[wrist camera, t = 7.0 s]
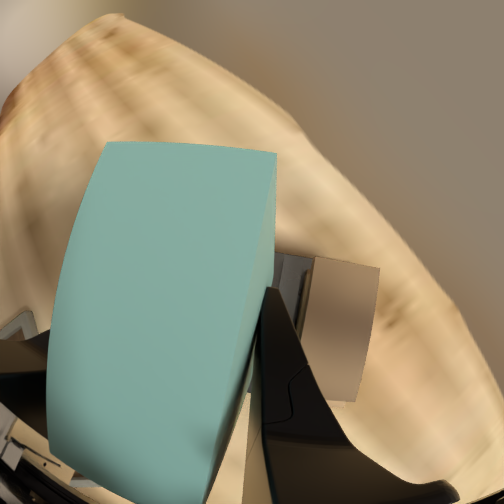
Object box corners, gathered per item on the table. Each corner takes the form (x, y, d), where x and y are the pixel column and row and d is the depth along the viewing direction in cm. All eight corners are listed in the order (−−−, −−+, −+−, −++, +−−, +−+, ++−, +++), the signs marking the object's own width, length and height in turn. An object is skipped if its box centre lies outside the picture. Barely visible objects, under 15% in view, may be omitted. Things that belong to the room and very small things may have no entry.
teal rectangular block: (251, 378, 14) (195, 524, 2) (200, 365, 14) (49, 452, 3) (273, 275, 15) (276, 153, 4) (222, 265, 16) (106, 141, 4)
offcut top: (349, 396, 14) (354, 402, 13) (287, 389, 15) (288, 395, 13) (372, 271, 16) (380, 268, 15) (312, 260, 16) (315, 256, 15)
